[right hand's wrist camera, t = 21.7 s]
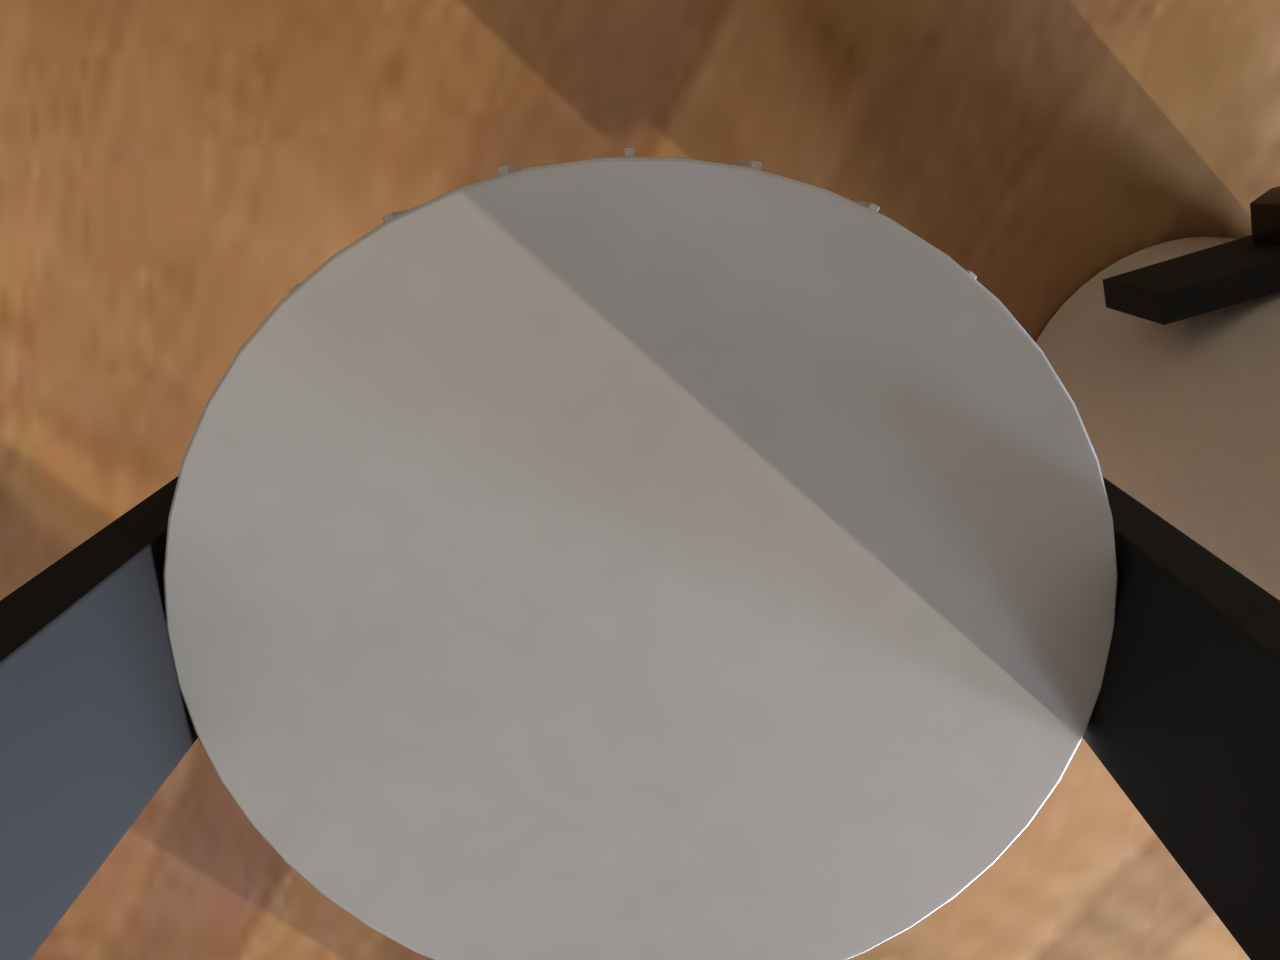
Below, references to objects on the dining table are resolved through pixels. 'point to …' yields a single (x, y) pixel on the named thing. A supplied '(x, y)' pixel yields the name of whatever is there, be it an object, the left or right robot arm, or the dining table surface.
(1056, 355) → the jar
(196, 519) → the lid
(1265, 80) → the dining table surface
